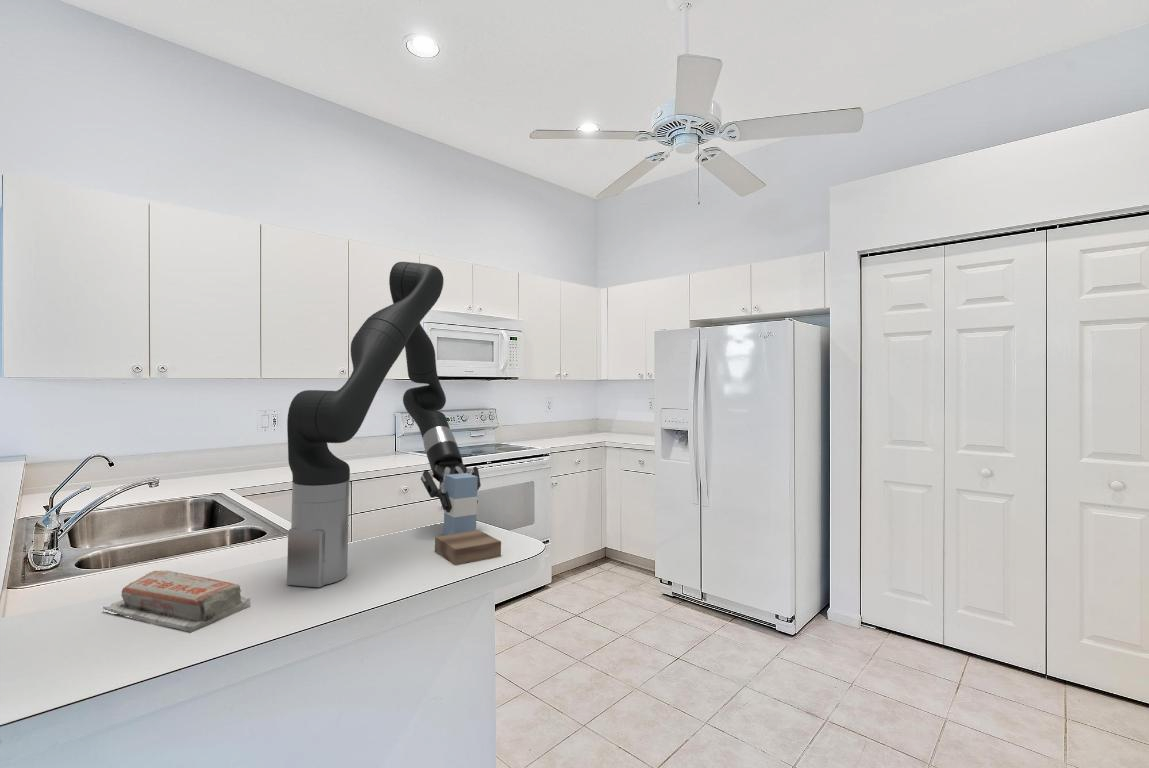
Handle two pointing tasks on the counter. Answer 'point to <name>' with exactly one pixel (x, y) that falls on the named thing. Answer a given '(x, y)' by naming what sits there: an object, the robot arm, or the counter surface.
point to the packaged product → (179, 600)
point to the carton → (461, 503)
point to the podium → (467, 546)
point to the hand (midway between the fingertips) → (462, 508)
